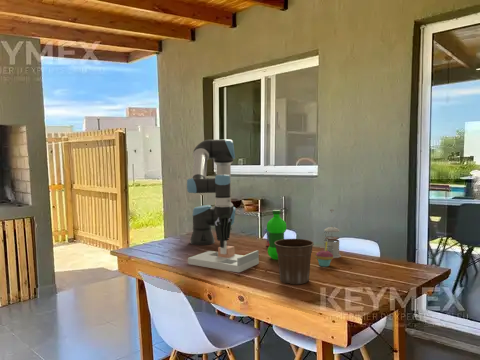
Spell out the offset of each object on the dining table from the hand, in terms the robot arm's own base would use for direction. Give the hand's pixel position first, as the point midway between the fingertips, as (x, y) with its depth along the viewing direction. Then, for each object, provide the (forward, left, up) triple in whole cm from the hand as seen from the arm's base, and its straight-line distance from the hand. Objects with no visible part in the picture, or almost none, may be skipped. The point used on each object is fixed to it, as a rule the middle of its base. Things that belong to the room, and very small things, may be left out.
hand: (223, 253), depth 187 cm
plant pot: (+41, -7, -5) cm, 42 cm away
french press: (+40, +43, -5) cm, 59 cm away
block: (-1, +4, -2) cm, 4 cm away
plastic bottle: (+18, +23, -5) cm, 29 cm away
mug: (+4, +48, -5) cm, 48 cm away
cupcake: (+44, +22, -5) cm, 49 cm away
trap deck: (0, 0, -5) cm, 5 cm away
